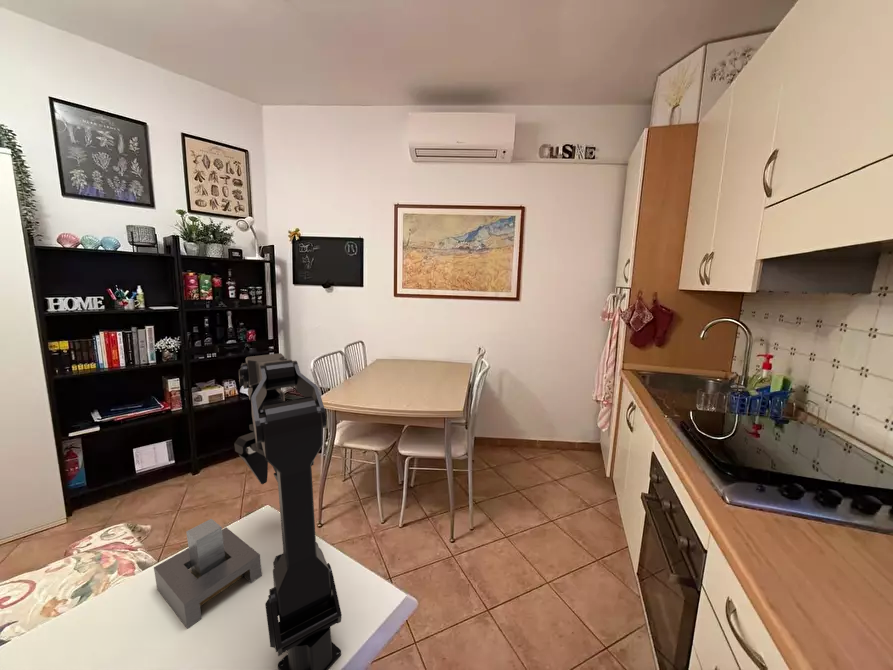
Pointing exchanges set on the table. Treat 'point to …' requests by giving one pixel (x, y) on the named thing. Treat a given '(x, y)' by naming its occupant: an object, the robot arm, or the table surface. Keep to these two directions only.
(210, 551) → the tall square pillar
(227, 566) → the slotted bridge-shaped block
